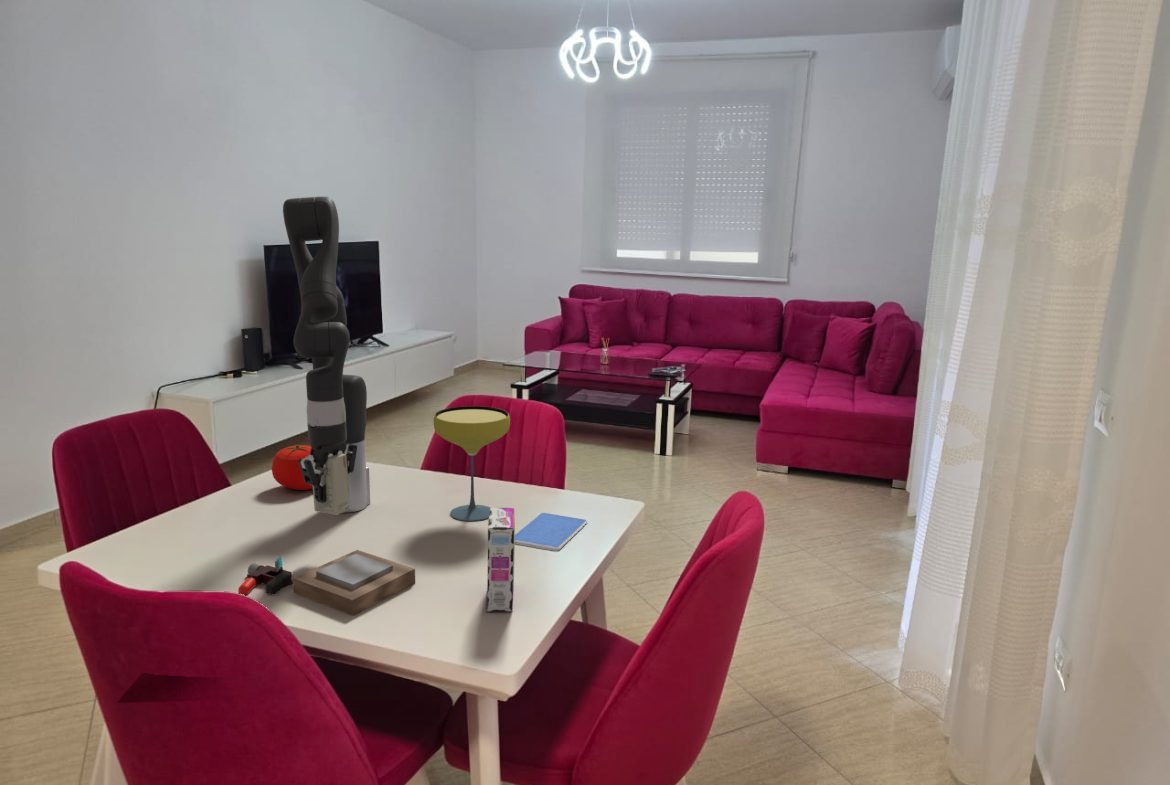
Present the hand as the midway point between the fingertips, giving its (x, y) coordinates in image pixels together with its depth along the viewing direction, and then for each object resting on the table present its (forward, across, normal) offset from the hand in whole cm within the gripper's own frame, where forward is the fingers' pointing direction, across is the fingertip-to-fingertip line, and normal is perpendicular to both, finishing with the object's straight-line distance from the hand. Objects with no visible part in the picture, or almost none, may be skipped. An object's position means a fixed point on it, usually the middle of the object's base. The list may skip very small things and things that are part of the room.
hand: (331, 497), depth 163 cm
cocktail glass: (+13, -35, +9) cm, 39 cm away
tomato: (+14, -25, -40) cm, 49 cm away
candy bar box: (+13, -2, +42) cm, 44 cm away
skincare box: (+3, 0, 0) cm, 3 cm away
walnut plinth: (+12, +9, +16) cm, 22 cm away
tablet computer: (+14, -36, +32) cm, 50 cm away
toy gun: (+13, +18, -1) cm, 22 cm away
